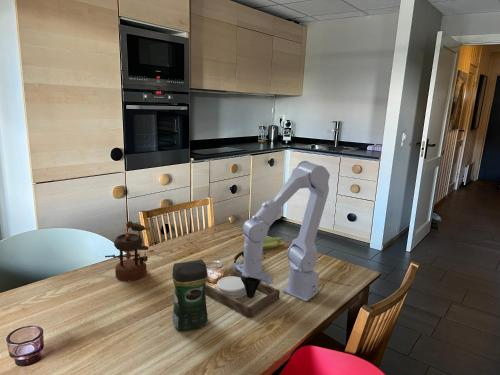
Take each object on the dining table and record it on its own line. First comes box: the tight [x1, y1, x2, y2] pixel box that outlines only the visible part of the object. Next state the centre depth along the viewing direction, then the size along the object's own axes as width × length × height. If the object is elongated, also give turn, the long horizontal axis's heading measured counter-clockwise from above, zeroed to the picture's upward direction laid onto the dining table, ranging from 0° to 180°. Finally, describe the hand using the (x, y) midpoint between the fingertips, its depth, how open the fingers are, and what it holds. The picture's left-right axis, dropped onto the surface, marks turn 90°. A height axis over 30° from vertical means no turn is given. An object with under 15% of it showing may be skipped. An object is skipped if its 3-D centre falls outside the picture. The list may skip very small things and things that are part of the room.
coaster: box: [216, 275, 247, 300], centre depth 120 cm, size 10×10×4 cm
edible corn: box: [263, 236, 283, 251], centre depth 157 cm, size 5×20×5 cm
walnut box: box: [205, 269, 281, 319], centre depth 118 cm, size 20×15×3 cm
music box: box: [104, 220, 151, 282], centre depth 126 cm, size 15×11×20 cm
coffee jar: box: [171, 258, 209, 332], centre depth 101 cm, size 10×8×19 cm
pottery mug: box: [233, 250, 244, 264], centre depth 138 cm, size 12×10×8 cm
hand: (250, 296), depth 116 cm, fingers closed
